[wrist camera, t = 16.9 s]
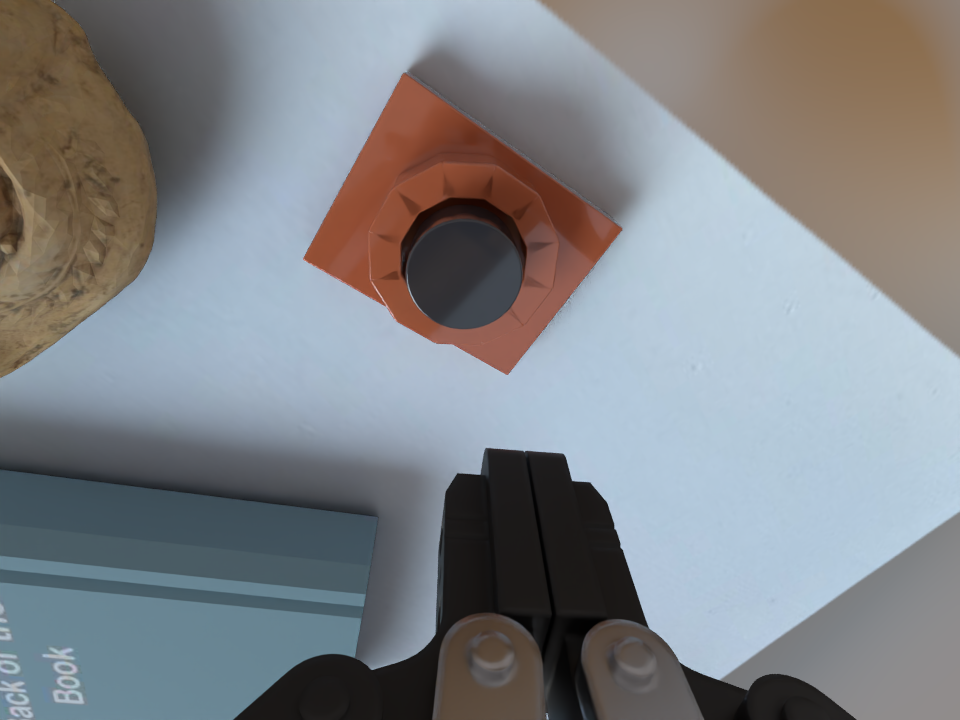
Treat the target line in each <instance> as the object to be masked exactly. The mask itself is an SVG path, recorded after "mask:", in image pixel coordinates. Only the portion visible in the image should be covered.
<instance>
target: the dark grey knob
mask: <svg viewBox="0 0 960 720" xmlns="http://www.w3.org/2000/svg"><path fill="white" fill-rule="evenodd" d="M522 280H523V269H522V262H521V258H520V255H519V252H518V249H517V246H516V243H515V240H514V237H513V235H512V233H511V231H510V229H509V228H508V226H507V225H506V224H505V223H504V222H503V221H502V220H501V219H500V218H499V217H498V216H497V215H495V214H494V213H492V212H491V211H489V210H487V209H485V208H482V207H479V206H475V205H468V204H458V205H451V206H448V207H444V208H442V209H440V210H438V211H436V212H434V213H433V214H431V215H430V216H429V217H427V218H426V219H425V220H424V221H423V222H422V223H421V224H420V226H419V227H418V229H417V230H416V232H415V234H414V236H413V239H412V241H411V245H410V250H409V255H408V260H407V264H406V283H407V288H408V291H409V294H410V296H411V298H412V300H413V302H414V303H415V305H416V306H417V308H418V309H419V310H420V311H421V312H422V313H423V314H424V315H425V316H427V317H428V318H429V319H431V320H432V321H434V322H436V323H438V324H440V325H443V326H445V327H449V328H453V329H475V328H479V327H483V326H486V325H488V324H490V323H492V322H494V321H496V320H497V319H499V318H500V317H502V316H503V315H504V314H505V313H506V312H507V311H508V310H509V309H510V308H511V306H512V305H513V304H514V302H515V301H516V299H517V297H518V295H519V292H520V289H521V285H522Z"/></svg>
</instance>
